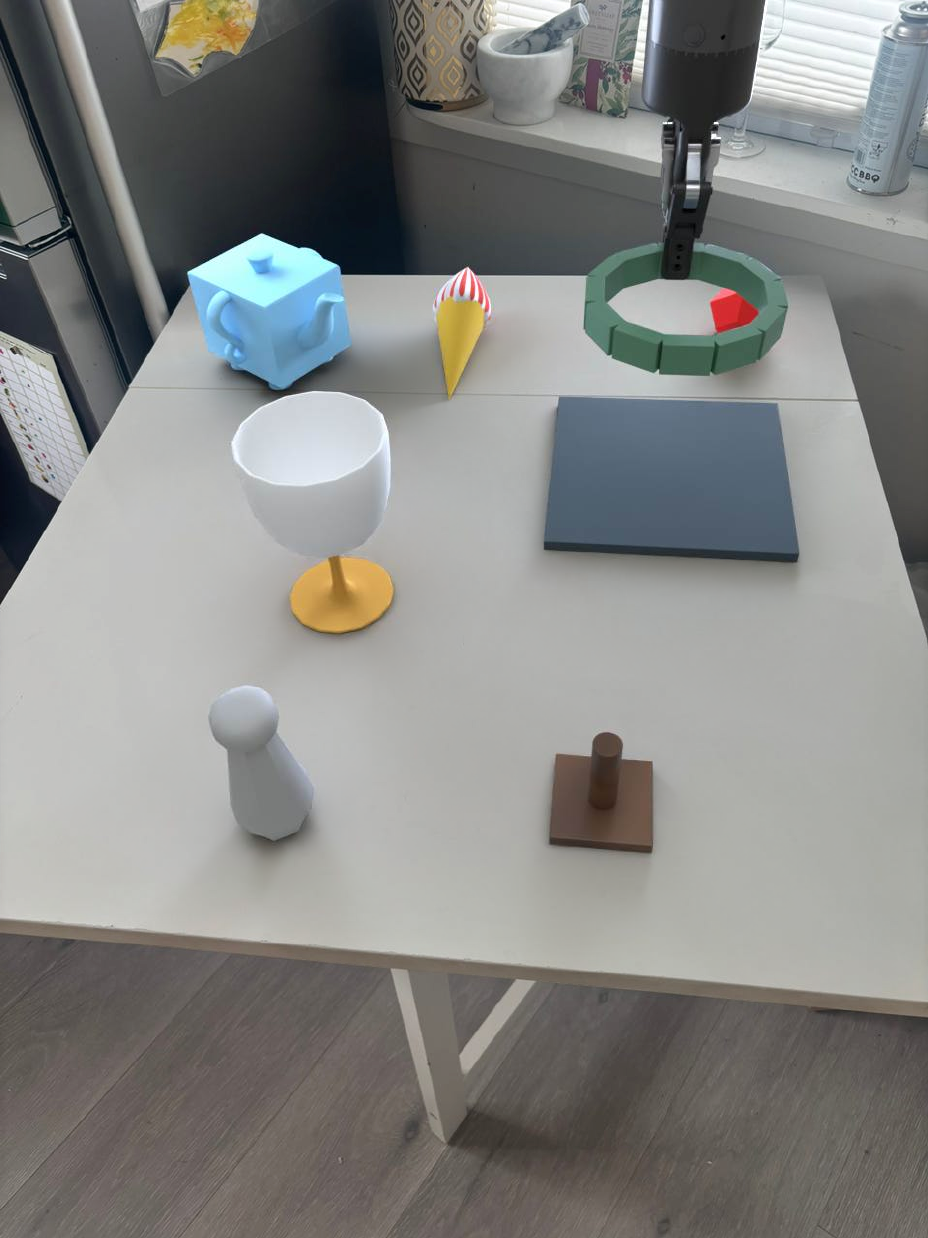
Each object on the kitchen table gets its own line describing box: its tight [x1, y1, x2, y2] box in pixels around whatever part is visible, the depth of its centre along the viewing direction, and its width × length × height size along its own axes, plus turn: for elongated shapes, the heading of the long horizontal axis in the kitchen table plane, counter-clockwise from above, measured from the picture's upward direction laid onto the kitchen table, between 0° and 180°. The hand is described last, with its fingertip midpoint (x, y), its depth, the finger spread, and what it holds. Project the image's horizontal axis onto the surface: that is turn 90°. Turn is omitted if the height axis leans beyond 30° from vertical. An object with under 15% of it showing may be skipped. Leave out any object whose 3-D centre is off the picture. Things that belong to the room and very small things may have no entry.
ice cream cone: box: [432, 266, 492, 401], centre depth 110 cm, size 6×6×20 cm
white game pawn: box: [208, 685, 315, 842], centre depth 67 cm, size 6×6×13 cm
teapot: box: [186, 233, 352, 391], centre depth 105 cm, size 18×16×13 cm
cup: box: [230, 390, 395, 634], centre depth 80 cm, size 12×12×17 cm
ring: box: [582, 241, 789, 377], centre depth 73 cm, size 14×14×2 cm
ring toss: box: [548, 731, 654, 854], centre depth 68 cm, size 7×7×8 cm
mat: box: [543, 395, 800, 563], centre depth 94 cm, size 22×22×1 cm
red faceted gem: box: [709, 287, 759, 334], centre depth 108 cm, size 7×7×8 cm
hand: (674, 270), depth 78 cm, fingers closed on ring, 1 cm apart
